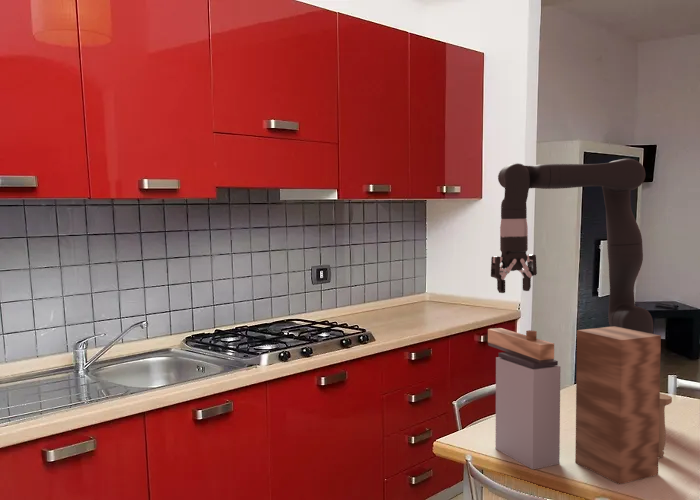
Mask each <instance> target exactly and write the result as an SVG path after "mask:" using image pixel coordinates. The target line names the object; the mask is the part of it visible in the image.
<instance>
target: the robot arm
mask: <svg viewBox="0 0 700 500" xmlns="http://www.w3.org/2000/svg"><path fill="white" fill-rule="evenodd" d="M497 179H498V184H499V186H501V187H503V189H504V198H503V199H502V201H501V204H500V205H501V206H500V227H499V229H500V230H499V235H500V239H499V240H500V241H499V246H500V249H499V251H500V252H501V255H500V256H498V255H497V256H496V255H493V256H491V264H490V277H492V278H494V279H496V282H497V284H496V285H497V287H496V288H497V291H498V293H500V294H505V293H506V280H505V278H506V277H507V276H508V274H510V272H514V271H518V272H519V273H521V275H522V290H523V291H524V292H530V290H531V286H532V285H531V284H532V283H531V282H532V281H531V280H532V279H531V278H532V277H535V276H537V274H538V270H537V267H538V266H537V255H536V254H531V253H530V254H527V251H528V249H529V247H528V245H529V243H528V241H529V239H528V237H529V235H528V234H529V233H528V219H527V218H528V216H527V215H528V213H527V200H528V196H529V190H530V189H545V190H546V189H548V190H551V189H553V190H554V189H573V188H582V187H601V189H602V194H603V199H604V205H605V219H606V220H605V221H606V244H607V260H608V276H609V280H608V281H609V297H608V298H609V299H608V324H609V327H613V326H615V327H620V328H625V329H630V330H635V331H640V332H645V333H650V334H654V320H653V317H652V315H651V313H650V312H649V310H647V309H645V308H644V307H639V306H636V301H635V284H636V280H637V279H638V278H637V277H638V276H639V273H640V270H641V268H642V266H643V265H642V264H643V262H644V260H643V259H644V252H643V251H644V249H643V237H642V233H641V230H640V228H639V225H638V223H637V220H636V218H635V216H634V213H633V211H632V204H631V191H633V190H635V189H637V188H639V187H640V186H641V185H642V184H643V183H644V182H645V179H646V170H645V167H644V165H643V164H642V163H641V162H639V161H638V160H636V159H633V158H622V159H616V160H612V161H609V162H605V163H604V162H602V163H588V164H587V163H541V164H536V165H524V164H522V163H518V162H515V163H511V164H508V165H506V166H504V167H503V168H501V169H500V171H499V172H498V175H497Z"/></svg>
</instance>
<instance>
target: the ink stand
mask: <svg viewBox="0 0 700 500" xmlns="http://www.w3.org/2000/svg"><path fill="white" fill-rule="evenodd" d="M558 362H559V360H556V359H554V362H549V363H536V362H534V361H531V360H528V359H525V358H522V357H519V356H517V355H514V354H511V353H508V352H505V351H503V352H498V357H497V356H496V357H495V450H497V451H499V452H500V453H502V454H504V455H506V456H508V457H510V458H511V459H513V460H515V461H517V462H519V463H520V464H522V465H524V466H526V467H528V468H529V469H531V470H537V469H541V468H546V467H551V466H555V465H559V464H560V457H561V456H560V455H561V454H560V450H561V447H560V446H561V444H560V443H561V442H560V441H561V439H560V438H561V427H560V426H561V366H560V365H558V364H559V363H558Z"/></svg>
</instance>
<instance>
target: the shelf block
mask: <svg viewBox="0 0 700 500" xmlns="http://www.w3.org/2000/svg"><path fill="white" fill-rule="evenodd" d="M661 340H662V335H659V334H655V333H653V334H650V333H645V332H640V331H635V330H630V329H625V328H620V327H615V326H613V327H610V326H605V327H604V326H603V327H597V328H596V327H594V328H586V329H585V328H584V329H578V330H576V373H575V374H576V377H575V379H576V382H575V384H576V385H575V386H576V387H575V391H576V392H575V398H576V399H575V454H574V455H575V459H574V460H575V462H574V463H576V464H578V465H579V466H582V467H584V468H586V469H587V470H589V471H592V472H594V473H596V474H597V475H600V476H602V477H604V478H605V479H608V480H610V481H612V482H613V483H616V484H618V485H622V484H625V483H630V482H635V481H638V480H642V479H646V478H651V477H654V476H658V475H659V408H660V394H661V393H660V392H661V352H662V350H661V349H662V347H661V345H662V344H661V343H662V342H661Z"/></svg>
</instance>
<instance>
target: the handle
mask: <svg viewBox="0 0 700 500" xmlns="http://www.w3.org/2000/svg"><path fill="white" fill-rule="evenodd" d="M672 402H673V397H672V396H671V395H668V394H664V393H660V408H659V458H661V459H662V457H664V454H665V451H664V450H665V446H666V421H665V420H666V419H665V417H666V416H665V409H666V406H667V405H671V404H672Z"/></svg>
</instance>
